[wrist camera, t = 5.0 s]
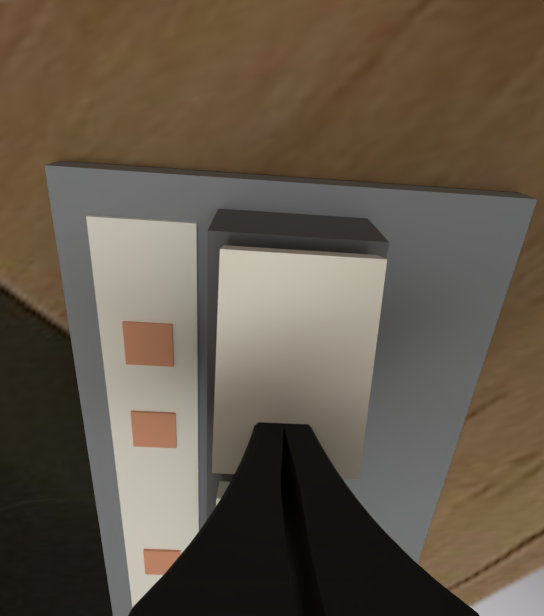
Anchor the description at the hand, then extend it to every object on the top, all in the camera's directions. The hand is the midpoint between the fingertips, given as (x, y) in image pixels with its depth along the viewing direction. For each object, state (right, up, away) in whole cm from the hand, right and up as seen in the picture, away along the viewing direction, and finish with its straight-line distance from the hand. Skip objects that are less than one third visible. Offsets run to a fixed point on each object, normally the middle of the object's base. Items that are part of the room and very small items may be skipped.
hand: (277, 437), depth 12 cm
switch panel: (0, -3, +8) cm, 8 cm away
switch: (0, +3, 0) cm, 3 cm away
